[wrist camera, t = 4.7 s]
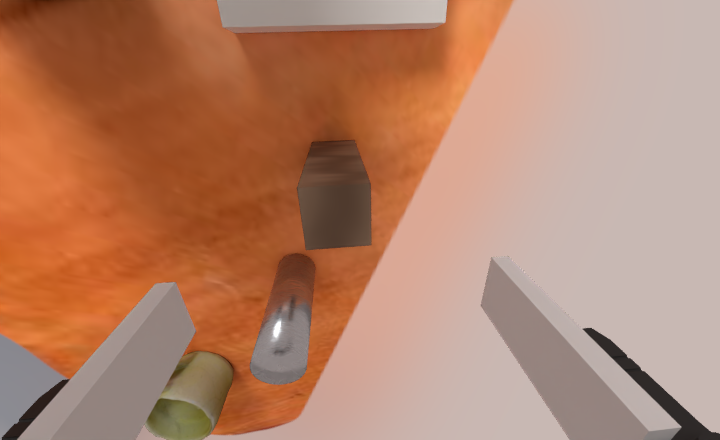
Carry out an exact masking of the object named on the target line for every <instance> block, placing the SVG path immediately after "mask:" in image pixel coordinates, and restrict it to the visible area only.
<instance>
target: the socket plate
mask: <svg viewBox="0 0 720 440" xmlns="http://www.w3.org/2000/svg"><path fill="white" fill-rule="evenodd" d="M217 3H218V8H219V12H220V17H221V22H222V27H223V28H225V29H227V30H229V31H231V32H234V33H260V32H306V31H351V30H396V29H434V28H436V27H438V26H440V25H442V24H444V23H445V22H446V11H447V0H217Z"/></svg>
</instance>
